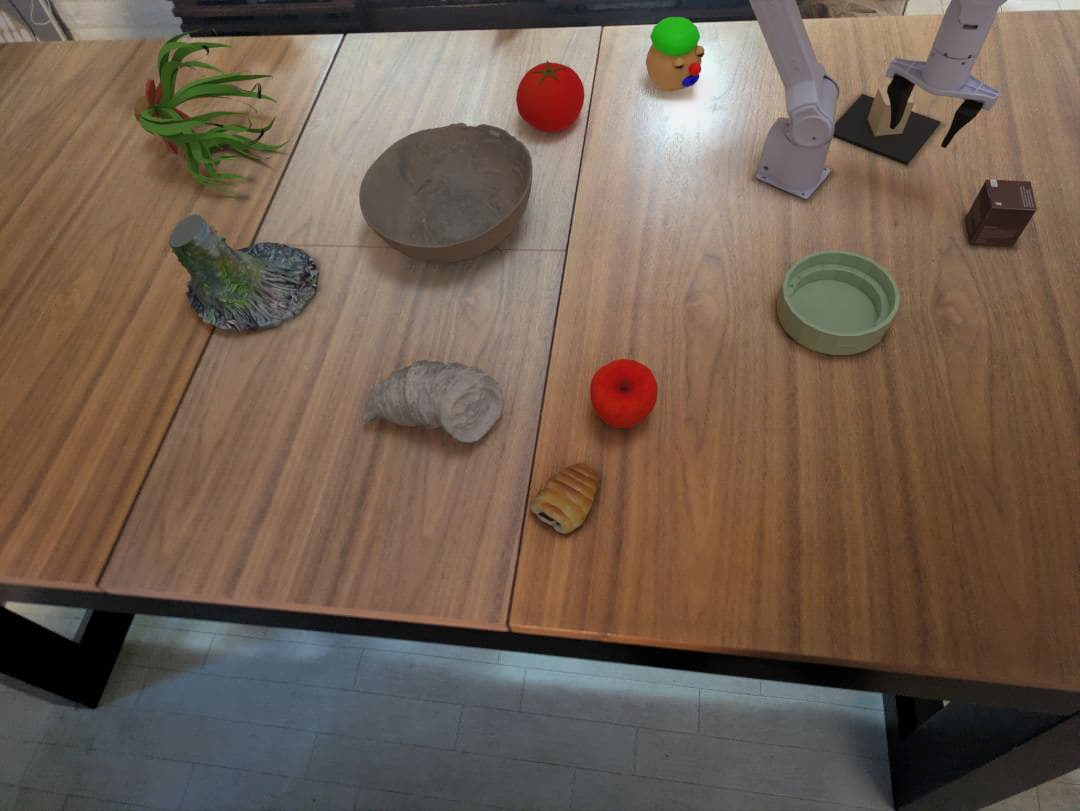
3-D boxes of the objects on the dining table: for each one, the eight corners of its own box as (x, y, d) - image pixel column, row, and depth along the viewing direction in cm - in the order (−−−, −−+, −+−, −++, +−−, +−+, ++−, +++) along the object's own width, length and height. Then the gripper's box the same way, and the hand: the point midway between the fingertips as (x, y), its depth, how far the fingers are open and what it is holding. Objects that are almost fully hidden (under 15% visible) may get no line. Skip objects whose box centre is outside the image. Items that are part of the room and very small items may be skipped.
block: (874, 136, 118) (885, 104, 113) (867, 119, 120) (878, 87, 115) (902, 133, 118) (914, 101, 113) (894, 116, 120) (906, 84, 115)
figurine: (634, 85, 132) (636, 23, 122) (673, 63, 135) (677, 0, 124) (676, 113, 127) (681, 50, 117) (715, 89, 129) (723, 26, 119)
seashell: (363, 425, 99) (338, 387, 91) (434, 356, 104) (418, 314, 96) (443, 489, 93) (425, 454, 84) (516, 412, 98) (506, 372, 89)
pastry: (568, 458, 93) (567, 445, 90) (612, 483, 91) (612, 471, 88) (527, 514, 90) (524, 503, 87) (572, 542, 87) (570, 531, 84)
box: (1013, 248, 104) (1038, 210, 98) (968, 245, 105) (990, 207, 99) (1007, 218, 107) (1031, 180, 101) (964, 215, 108) (985, 177, 102)
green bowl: (756, 323, 102) (762, 301, 97) (809, 258, 107) (817, 234, 103) (855, 375, 96) (866, 354, 91) (907, 304, 101) (919, 280, 97)
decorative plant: (193, 140, 146) (326, 139, 140) (122, 205, 129) (269, 208, 123) (127, 2, 127) (277, -5, 121) (35, 58, 111) (204, 53, 105)
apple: (636, 452, 93) (637, 423, 86) (578, 424, 96) (575, 394, 89) (667, 401, 96) (670, 369, 90) (610, 376, 99) (610, 343, 93)
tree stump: (318, 329, 110) (238, 260, 95) (212, 361, 115) (120, 301, 100) (324, 240, 118) (252, 163, 103) (226, 273, 124) (144, 205, 108)
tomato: (596, 111, 130) (594, 57, 121) (561, 151, 125) (556, 99, 116) (544, 95, 134) (538, 42, 125) (509, 133, 129) (500, 81, 120)
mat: (827, 134, 120) (828, 131, 120) (861, 96, 124) (862, 93, 124) (906, 165, 115) (908, 162, 114) (939, 124, 119) (941, 121, 118)
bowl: (565, 187, 120) (560, 138, 111) (492, 307, 108) (481, 262, 100) (426, 154, 128) (412, 106, 120) (345, 261, 116) (323, 216, 108)
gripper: (1027, 47, 90) (981, 136, 102) (916, 15, 96) (885, 102, 108) (1004, 76, 88) (960, 164, 100) (892, 41, 94) (863, 128, 105)
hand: (919, 134), depth 103 cm, fingers open, 7 cm apart
